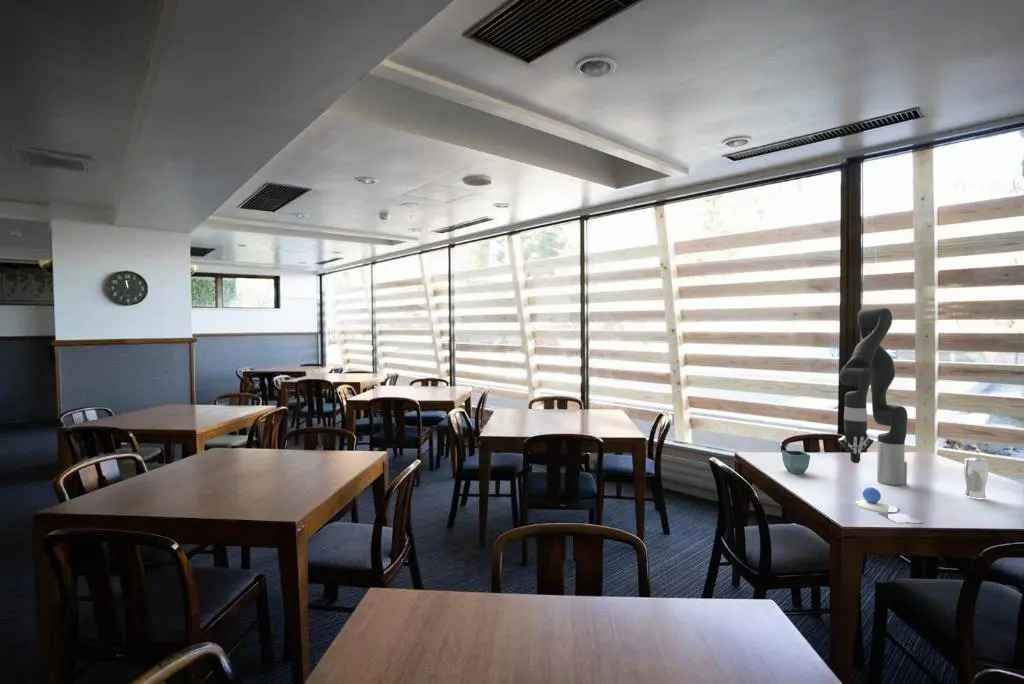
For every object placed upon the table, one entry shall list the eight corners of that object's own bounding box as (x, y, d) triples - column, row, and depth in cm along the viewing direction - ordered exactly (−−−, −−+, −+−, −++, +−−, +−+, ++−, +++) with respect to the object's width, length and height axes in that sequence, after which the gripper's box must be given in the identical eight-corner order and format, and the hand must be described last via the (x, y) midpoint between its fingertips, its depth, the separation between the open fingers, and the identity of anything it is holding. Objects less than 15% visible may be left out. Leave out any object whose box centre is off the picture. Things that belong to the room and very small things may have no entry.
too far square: (904, 514, 179) (904, 513, 179) (923, 523, 170) (923, 522, 170) (877, 513, 179) (877, 513, 179) (896, 523, 170) (896, 522, 170)
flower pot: (810, 475, 228) (810, 455, 228) (790, 474, 228) (791, 455, 228) (800, 469, 237) (800, 450, 237) (781, 469, 237) (781, 450, 237)
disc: (882, 500, 193) (882, 500, 193) (907, 513, 180) (907, 512, 180) (847, 500, 193) (847, 500, 193) (870, 512, 180) (870, 512, 180)
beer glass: (984, 501, 192) (985, 462, 191) (960, 496, 197) (961, 458, 197) (990, 498, 195) (990, 459, 195) (966, 493, 201) (967, 456, 201)
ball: (886, 491, 188) (882, 505, 189) (873, 484, 194) (869, 498, 195) (873, 491, 187) (870, 505, 188) (860, 484, 192) (857, 498, 194)
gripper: (844, 420, 195) (843, 465, 196) (879, 420, 195) (879, 465, 195) (832, 417, 203) (832, 460, 203) (866, 417, 202) (866, 460, 203)
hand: (855, 462), depth 199 cm, fingers closed
